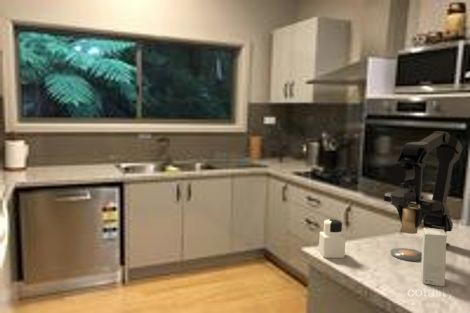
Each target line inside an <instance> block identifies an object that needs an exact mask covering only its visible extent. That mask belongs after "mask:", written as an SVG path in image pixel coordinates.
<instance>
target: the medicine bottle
mask: <svg viewBox="0 0 470 313" xmlns="http://www.w3.org/2000/svg"><path fill="white" fill-rule="evenodd" d="M342 230H343V222H342V221H340V220H339V219H338V220H337V219H334V218H333V219H332V218H329V219H325V220H324V221H323V231H319V241H318V251H319V252H320V253H319V254H321V256H322V257H323V259H345V256H346V237H345V236H344V234H342V233H343V232H342Z"/></svg>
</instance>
